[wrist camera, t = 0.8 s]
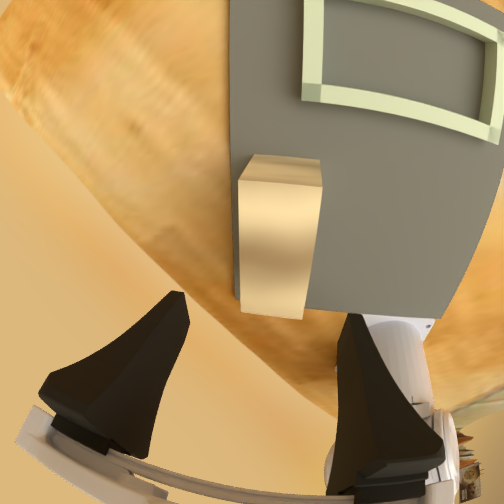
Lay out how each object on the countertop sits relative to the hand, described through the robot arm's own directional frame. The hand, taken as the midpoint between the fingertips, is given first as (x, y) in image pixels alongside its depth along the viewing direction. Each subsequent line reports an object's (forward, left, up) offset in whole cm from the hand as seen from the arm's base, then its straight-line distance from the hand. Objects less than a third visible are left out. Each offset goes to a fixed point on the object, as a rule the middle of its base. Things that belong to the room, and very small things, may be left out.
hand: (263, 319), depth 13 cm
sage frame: (+12, -7, -9) cm, 17 cm away
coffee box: (-94, -84, -10) cm, 126 cm away
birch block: (0, 0, -9) cm, 9 cm away
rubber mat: (+5, -6, -9) cm, 12 cm away
